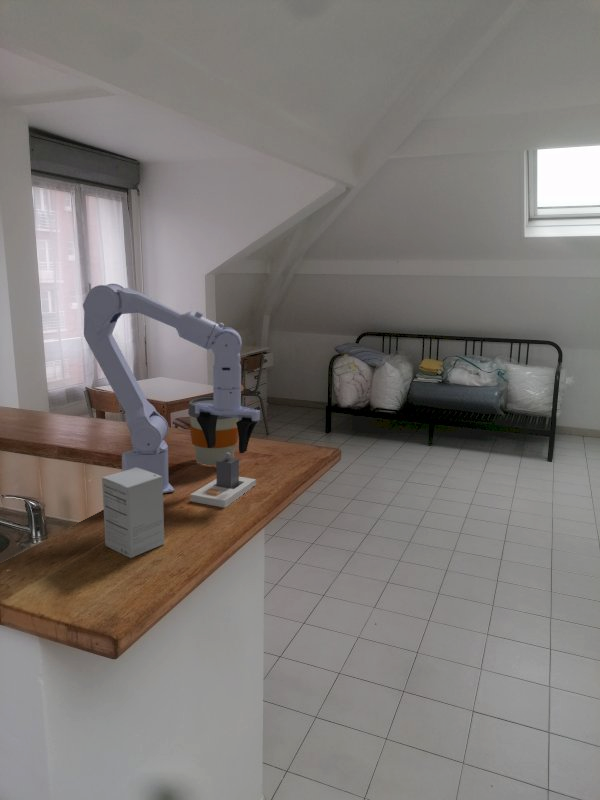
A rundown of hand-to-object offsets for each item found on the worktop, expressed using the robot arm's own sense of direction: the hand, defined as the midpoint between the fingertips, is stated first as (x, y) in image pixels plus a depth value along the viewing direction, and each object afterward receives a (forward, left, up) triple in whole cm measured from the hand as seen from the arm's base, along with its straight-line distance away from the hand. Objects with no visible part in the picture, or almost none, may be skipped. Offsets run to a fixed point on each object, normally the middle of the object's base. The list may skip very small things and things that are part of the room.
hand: (227, 449), depth 134 cm
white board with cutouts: (-1, -2, -9) cm, 9 cm away
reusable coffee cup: (+4, +20, -9) cm, 22 cm away
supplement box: (-24, -19, -9) cm, 32 cm away
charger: (0, -1, -9) cm, 9 cm away
